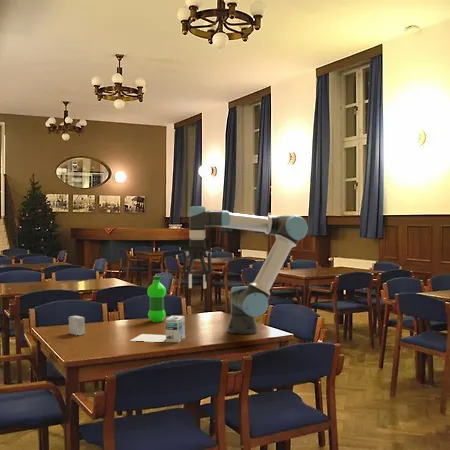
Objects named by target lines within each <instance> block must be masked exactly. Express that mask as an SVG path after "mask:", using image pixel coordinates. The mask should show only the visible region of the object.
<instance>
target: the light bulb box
mask: <svg viewBox="0 0 450 450" xmlns="http://www.w3.org/2000/svg"><path fill="white" fill-rule="evenodd" d="M165 335H166V341H165V342H166V343H180V342H182V341H183V340H184V339H186V317H185V315H171V316H169V317H167V318H165ZM183 338H184V339H183ZM182 339H183V340H182ZM181 340H182V341H181Z"/></svg>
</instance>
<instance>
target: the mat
mask: <svg viewBox="0 0 450 450" xmlns="http://www.w3.org/2000/svg"><path fill="white" fill-rule="evenodd" d="M165 340H166V334H152V333H150V334H148V333H147V334H146V333H141V334H139V335H138V336H136V337H134V338H132V339H130V340H129V342H136V341H144V342H143V343H154V342H163V343H164V342H166V341H165Z"/></svg>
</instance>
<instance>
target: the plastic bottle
mask: <svg viewBox="0 0 450 450" xmlns="http://www.w3.org/2000/svg"><path fill="white" fill-rule="evenodd" d="M161 279H162V278H161V275H153V276H152V280H153V282H152V284H151V285H149V286H148V287H147V291H146V293H147V295H148V297H149V310H148V312H147V316H148V318H149V320H150V321H151V322H153V323H161V322H162V321H163V320H165V319H166V315H167V314H166V313H167V312H166V310H165V296H166V295H167V289H166V287H165V286H164V284H162V283H161V282H160V281H161Z"/></svg>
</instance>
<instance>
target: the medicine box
mask: <svg viewBox="0 0 450 450" xmlns="http://www.w3.org/2000/svg"><path fill="white" fill-rule="evenodd" d="M85 322H86V321H85V316H84V317H83V316H80V315H71V316H68V334H69V333H70V334H69V335H73V334H74V335H73V336H77V335H79V336H84V335H86V331H85V330H86V329H85V327H86V325H85ZM83 334H84V335H83Z"/></svg>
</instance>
